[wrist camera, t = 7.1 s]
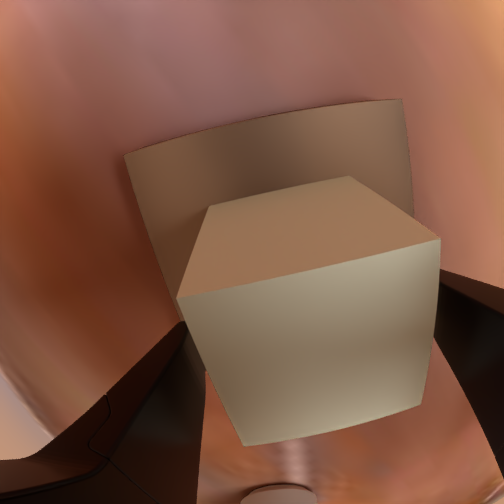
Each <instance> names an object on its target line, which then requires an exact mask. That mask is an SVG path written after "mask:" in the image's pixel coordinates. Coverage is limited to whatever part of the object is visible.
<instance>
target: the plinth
mask: <svg viewBox="0 0 504 504" xmlns="http://www.w3.org/2000/svg"><path fill="white" fill-rule="evenodd" d="M123 156H124V160H125V163H126V166H127V170H128V173H129V177H130V180H131V183H132V187H133V190H134V193H135V196H136V199H137V203H138V206H139V209H140V212H141V215H142V218H143V221H144V224H145V227H146V230H147V233H148V236H149V239H150V242H151V244H152V247H153V250H154V253H155V256H156V259H157V261H158V264H159V267H160V269H161V272H162V275H163V278H164V280H165V283H166V285H167V288H168V291H169V293H170V296H171V298H172V301H173V303H174V306H175V309H176V311H177V313H178V316H179V318H180V321H185V319H184V317H183V314H182V312H181V309H180V307H179V304H178V302H177V299H176V297H177V294H178V291H179V288H180V285H181V282H182V280H183V277H184V274H185V271H186V268H187V265H188V262H189V259H190V257H191V254H192V251H193V248H194V245H195V243H196V240H197V237H198V234H199V232H200V229H201V226H202V224H203V221H204V218H205V216H206V213H207V210H208V208H209V206H211V205H215V204H220V203H224V202H228V201H232V200H236V199H241V198H245V197H249V196H254V195H258V194H263V193H267V192H271V191H276V190H281V189H285V188H290V187H295V186H299V185H304V184H309V183H314V182H319V181H324V180H329V179H334V178H339V177H345V176H350V177H352V178H354V179H355V180H357V181H358V182H360V183H362V184H363V185H365V186H366V187H368V188H369V189H371V190H372V191H374V192H375V193H377V194H379V195H380V196H382V197H383V198H385V199H386V200H388V201H389V202H390V203H392V204H393V205H395V206H396V207H398V208H399V209H401V210H402V211H404V212H405V213H406V214H408V215H409V216H411V217H412V218H414V212H413V192H412V177H411V165H410V155H409V146H408V137H407V129H406V122H405V115H404V109H403V103H402V99H385V100H370V101H361V102H352V103H343V104H335V105H328V106H321V107H314V108H308V109H302V110H296V111H290V112H284V113H279V114H273V115H268V116H263V117H258V118H253V119H249V120H244V121H240V122H235V123H231V124H226V125H222V126H218V127H214V128H210V129H206V130H202V131H198V132H195V133H191V134H187V135H183V136H180V137H176V138H173V139H169V140H166V141H163V142H159V143H156V144H153V145H150V146H146V147H143V148H140V149H138V150H135V151H133V152H130V153H127V154H125V155H123ZM205 371H207V370H206V368H205Z"/></svg>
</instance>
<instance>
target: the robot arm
mask: <svg viewBox="0 0 504 504" xmlns="http://www.w3.org/2000/svg"><path fill="white" fill-rule="evenodd" d="M433 336H434V338H435V340H436V342H437V344H438V346H439V348H440V349H441V351H442V353H443V355H444V356H445V358H446V360H447V362H448V363H449V365H450V367H451V369H452V371H453V372H454V374H455V376H456V378H457V380H458V382H459V383H460V385H461V387H462V389H463V391H464V393H465V395H466V397H467V399H468V401H469V403H470V405H471V407H472V409H473V411H474V413H475V415H476V417H477V419H478V421H479V423H480V425H481V427H482V429H483V431H484V433H485V436H486V438H487V440H488V442H489V444H490V447H491V449H492V451H493V454H494V456H495V459H496V461H497V463H498V466H499V468H500V471H501V473H502V476H503V478H504V289H502V288H499V287H496V286H493V285H490V284H487V283H484V282H480V281H477V280H474V279H471V278H468V277H465V276H461V275H458V274H455V273H452V272H448V271H445V270H442V269H440V273H439V288H438V300H437V310H436V319H435V327H434V335H433ZM205 395H206V385H205V366H204V363H203V361H202V359H201V357H200V354H199V352H198V350H197V348H196V345H195V343H194V341H193V338H192V336H191V333H190V331H189V329H188V326H187V324H186V322H185V321H180V322H179V323H177V324H176V325H175V326H174V327H173V328H172V329H171V330H170V331H169V332H168V333H167V334H166V335H165V336H164V337H163V338H162V339H161V340H160V341H159V342H158V343H157V344H156V345H155V346H154V347H153V348H152V349H151V350H150V351H149V352H148V353H147V354H146V355H145V356H144V357H143V358H142V359H141V360H140V361H138V362H137V363H136V364H135V365H134V366H133V367H132V368H131V369H130V370H129V371H128V372H127V373H126V374H125V375H124V376H123V377H122V378H121V379H120V380H119V381H118V382H117V383H116V384H115V385H114V386H113V387H112V388H111V389H110V390H109V391H108V392H107V393H106V395H103V396H102V397H101V398H100V399H99V400H98V401H97V402H96V403H95V404H94V405H93V406H92V407H91V408H90V409H89V410H88V411H87V412H86V413H85V414H83V415H82V416H81V417H80V418H79V419H78V420H76V421H75V422H74V423H73V424H72V425H70V426H69V427H68V428H67V429H66V430H64V431H63V432H62V433H61V434H59V435H58V436H57V437H56V438H54V439H53V440H52V441H51V442H50V443H48V444H47V445H46V446H45V447H43V448H42V449H41V450H39V451H38V452H37V453H35V454H33V455H31V456H29V457H26V458H21V459H13V460H0V504H196V502H197V488H198V475H199V463H200V451H201V440H202V429H203V418H204V407H205Z"/></svg>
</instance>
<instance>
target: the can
mask: <svg viewBox="0 0 504 504" xmlns="http://www.w3.org/2000/svg"><path fill="white" fill-rule="evenodd" d="M240 504H317V498H316V495H315V494H314V493H313V492H310V491H308V490H306V489H305V488H304V487H301V486H297V485H272V486H267V487H262V488H259V489H256V490H254V491H252V492H250V494H249V495H248V496H246V497H245V498H243V499H242V501H241V502H240Z"/></svg>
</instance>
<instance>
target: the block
mask: <svg viewBox="0 0 504 504" xmlns="http://www.w3.org/2000/svg"><path fill="white" fill-rule="evenodd" d="M440 250H441V238H439V237H438V236H437V235H435V234H434V233H433V232H431V231H430V230H429V229H427V228H426V227H425V226H423V225H422V224H420V223H419V222H418V221H416V220H415V219H414V218H412V217H411V216H409V215H408V214H406V213H405V212H404V211H402V210H401V209H399V208H398V207H396V206H395V205H393V204H392V203H390V202H389V201H388V200H386V199H385V198H383V197H382V196H380V195H379V194H377V193H375V192H374V191H372V190H371V189H369V188H368V187H366V186H365V185H363V184H362V183H360V182H358V181H357V180H355V179H354V178H352V177H350V176H345V177H339V178H334V179H329V180H324V181H319V182H314V183H309V184H304V185H299V186H295V187H290V188H285V189H281V190H276V191H271V192H267V193H263V194H258V195H254V196H249V197H245V198H241V199H236V200H232V201H228V202H224V203H220V204H215V205H211V206H209V208H208V210H207V213H206V216H205V218H204V221H203V224H202V226H201V229H200V232H199V234H198V237H197V240H196V243H195V245H194V248H193V251H192V254H191V257H190V259H189V262H188V265H187V268H186V271H185V274H184V277H183V280H182V282H181V285H180V288H179V291H178V294H177V297H176V299H177V302H178V304H179V307H180V309H181V312H182V314H183V317H184V319H185V322H186V324H187V326H188V329H189V331H190V333H191V336H192V338H193V341H194V343H195V345H196V348H197V350H198V352H199V354H200V357H201V359H202V361H203V363H204V366H205V368H206V370H207V372H208V374H209V377H210V379H211V381H212V383H213V385H214V387H215V390H216V392H217V394H218V396H219V398H220V400H221V402H222V404H223V406H224V408H225V410H226V413H227V415H228V417H229V419H230V421H231V423H232V425H233V427H234V429H235V431H236V433H237V434H238V436H239V438H240V440H241V442H242V444H243V446H244V447H245V446H253V445H260V444H267V443H274V442H280V441H286V440H291V439H297V438H302V437H307V436H312V435H317V434H321V433H326V432H330V431H334V430H339V429H343V428H347V427H350V426H354V425H358V424H362V423H365V422H369V421H372V420H376V419H379V418H382V417H385V416H389V415H392V414H395V413H398V412H401V411H404V410H407V409H410V408H412V407H415V406H418V405H421V401H422V397H423V392H424V387H425V383H426V377H427V372H428V367H429V361H430V355H431V349H432V342H433V335H434V327H435V319H436V310H437V300H438V288H439V273H440Z"/></svg>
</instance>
